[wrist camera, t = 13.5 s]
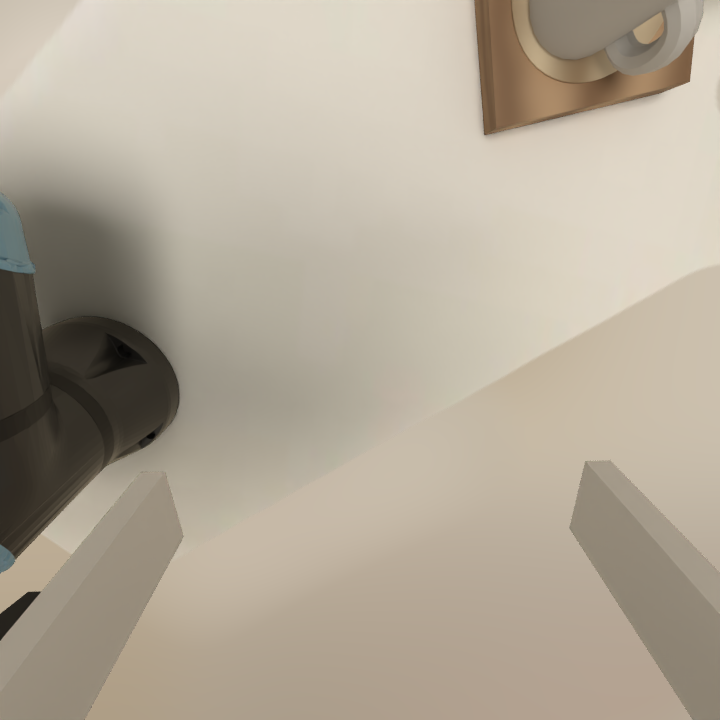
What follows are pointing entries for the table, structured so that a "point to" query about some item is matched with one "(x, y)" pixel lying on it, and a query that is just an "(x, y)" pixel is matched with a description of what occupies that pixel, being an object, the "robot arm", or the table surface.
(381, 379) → the table surface
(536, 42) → the pedestal
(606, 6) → the cup
